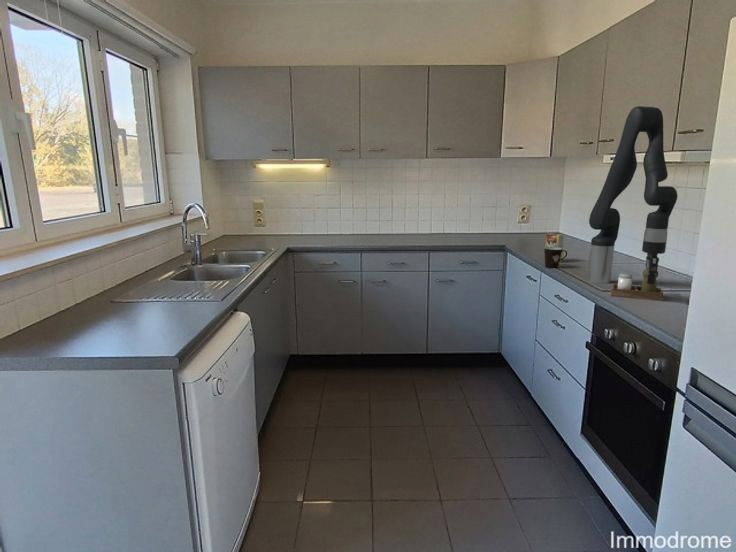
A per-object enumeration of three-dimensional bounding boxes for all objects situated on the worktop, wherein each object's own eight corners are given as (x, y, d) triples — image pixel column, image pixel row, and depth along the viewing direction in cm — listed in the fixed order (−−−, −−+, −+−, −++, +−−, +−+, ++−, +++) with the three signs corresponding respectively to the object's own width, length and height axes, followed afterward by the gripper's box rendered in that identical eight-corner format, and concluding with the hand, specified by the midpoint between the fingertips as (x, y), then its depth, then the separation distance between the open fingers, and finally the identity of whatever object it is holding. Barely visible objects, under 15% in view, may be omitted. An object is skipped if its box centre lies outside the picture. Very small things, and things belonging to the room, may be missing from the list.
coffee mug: (543, 268, 237) (544, 249, 234) (542, 265, 245) (543, 246, 242) (567, 269, 233) (569, 250, 231) (565, 266, 241) (567, 247, 239)
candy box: (543, 260, 257) (545, 233, 254) (549, 259, 259) (551, 233, 256) (556, 263, 249) (558, 235, 246) (562, 262, 251) (564, 234, 248)
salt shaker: (616, 292, 185) (618, 272, 183) (630, 293, 183) (632, 273, 181) (616, 295, 181) (619, 275, 179) (630, 296, 179) (633, 276, 177)
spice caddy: (610, 293, 188) (611, 283, 187) (659, 297, 180) (660, 288, 179) (610, 298, 180) (611, 288, 179) (662, 303, 172) (663, 293, 172)
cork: (657, 296, 179) (661, 268, 176) (655, 299, 174) (659, 271, 172) (639, 294, 182) (642, 267, 180) (637, 297, 178) (640, 269, 175)
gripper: (669, 243, 165) (663, 286, 169) (664, 238, 178) (658, 278, 181) (644, 242, 169) (639, 284, 172) (642, 237, 181) (637, 277, 185)
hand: (649, 281), depth 177 cm, fingers open, 8 cm apart
